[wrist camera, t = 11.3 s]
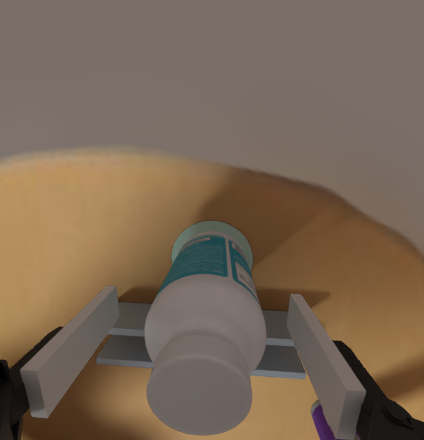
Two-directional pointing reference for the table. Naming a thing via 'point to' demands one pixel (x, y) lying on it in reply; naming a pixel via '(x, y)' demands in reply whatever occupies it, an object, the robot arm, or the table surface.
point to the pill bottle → (205, 337)
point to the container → (324, 423)
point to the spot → (216, 227)
